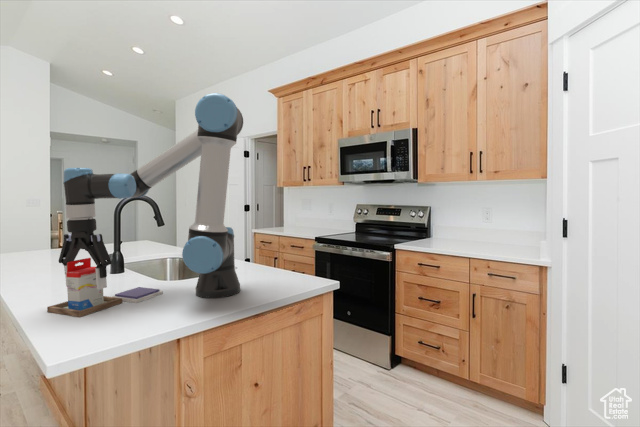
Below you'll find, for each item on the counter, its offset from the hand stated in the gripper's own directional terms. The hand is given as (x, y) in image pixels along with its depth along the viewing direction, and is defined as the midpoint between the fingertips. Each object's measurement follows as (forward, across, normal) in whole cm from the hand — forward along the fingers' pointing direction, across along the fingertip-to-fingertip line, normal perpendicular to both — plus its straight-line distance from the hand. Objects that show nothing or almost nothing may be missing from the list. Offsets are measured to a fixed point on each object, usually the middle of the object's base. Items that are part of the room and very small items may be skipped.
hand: (86, 286), depth 112 cm
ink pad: (+7, -6, -14) cm, 16 cm away
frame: (+6, 0, 0) cm, 6 cm away
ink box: (+6, 0, 0) cm, 6 cm away
